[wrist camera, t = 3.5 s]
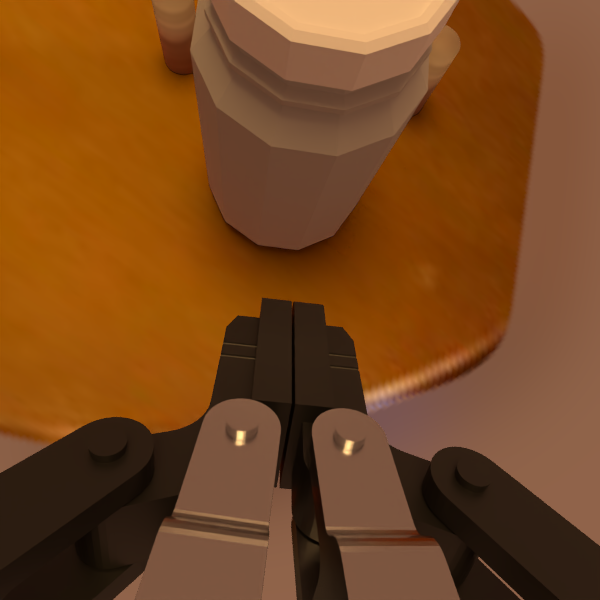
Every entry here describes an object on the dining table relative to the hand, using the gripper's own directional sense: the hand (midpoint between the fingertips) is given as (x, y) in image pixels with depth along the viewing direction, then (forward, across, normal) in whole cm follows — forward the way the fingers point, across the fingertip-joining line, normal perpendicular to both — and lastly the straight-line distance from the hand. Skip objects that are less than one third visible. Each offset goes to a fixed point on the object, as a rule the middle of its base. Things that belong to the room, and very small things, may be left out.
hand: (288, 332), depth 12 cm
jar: (+22, 0, -3) cm, 22 cm away
